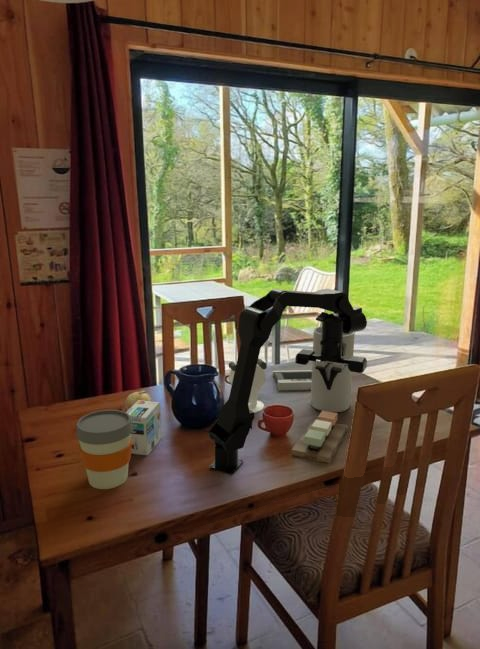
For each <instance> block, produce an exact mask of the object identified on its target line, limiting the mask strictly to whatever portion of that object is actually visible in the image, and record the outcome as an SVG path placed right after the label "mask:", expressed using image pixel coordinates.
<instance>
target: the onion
mask: <svg viewBox="0 0 480 649" xmlns="http://www.w3.org/2000/svg"><path fill="white" fill-rule="evenodd" d="M138 400H142V401H151V402H153V399H152V398H151V396H150V395H149V394H148V393H147V391H146V390H144V388H141V390H140V391H134V392H132V393H131V394H129V395H128V396H127V397H126V399H125V402H124V403H125V407H126V409H127V411H128V410H129V409H130V408H131V407H132V406H133V405H134V404H135V403H136V402H137V401H138Z"/></svg>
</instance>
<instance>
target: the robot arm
mask: <svg viewBox="0 0 480 649" xmlns="http://www.w3.org/2000/svg"><path fill="white" fill-rule="evenodd" d="M288 307H295V308H296V307H297V308H316V309H317V308H318V309H322V310H325V311H328V312H330V313H328V312H325V311H321V313H320V314H319V315H317V316H316V318H315V320H316V321H317V322H321V326H322V334H321V341H320V345H321V355H315V352H314V350H313V349H305V348H303V349H301V350H299V352H297V353H296V355H295V364H297V365H308V364H309V363H310V361H311V362H312V361H315V362H316V367H315V369H318V370H319V372H320V374H321V376H322V377H323V380H324V382H325V385H326V387H327V390H331V388H332V386H333V383H334V381H335V378H336V376H337V374H338V373H341V372H342V371H343V370H344V368H345V366H348V369H349V370H350V371H351V372H352V373H359V374H362V373H364V372H365V370H366V368H367V367H368V360H367V358H366V357H364V356H357V355H353V356H352V357H351V359H344V358H342V357H343V356H344V355H345V352H346V344H345V343H343V333H352V332H355V333H356V332H357V333H358V332H361V331H364V330H366V327H367V325H368V320H367V318H366V315H365V313H364V312H363V308H362V307H360V306H352V304H351V301H350V299H349V297H348V294H347V293H346V292H344V291H340V290H336V289H335V290H334V289H331V288H324V289H318V290H317V291H303V290H302V291H300V290H289V289H288V290H286V289H279V288H272V289H271V290H269V291H268V293H266V294H265V295H263V296H262V297H260V298H259V299H257V300H255V301H253V302H252V303H251V304H250V305H249V306H248V307H246V308H244V309H243V310H241V312H240V313H239V317H238V330H237V332H238V334H239V340H240V346H239V350H238V355H237V359H236V363H237V364H236V363H235V364H236V368H235V373H234V378H233V382H232V385H231V387H230V393H229V396H228V400H227V401H225V403H224V404H223V405H222V407H221V408H220V411H219V414H218V416H217V419H216V421H215V422H214V423H213V425H212V426H211V427H210V429H208V431H207V434H208V436H209V439H210V440H212V441H213V442H214V461H213V462H212V463H211V464H210V465H209V469H211V470H214V471H217V472H221V473H226V474H229V475H233V474H234V473H235V472H236V471H237V470H239V467H241V465H243V463H244V460H243V459H240V458H239V450H240V449H243V448H244V446H245V443H246V441H247V437H248V435H249V433H250V430H253V422H254V418H255V414H256V413H254V412H253V411H251V410H249V406H248V402H249V398H250V393H251V389H252V384H253V380H254V375H255V371H256V366H257V362H258V359H259V357H260V352H261V349H262V347H263V346H264V345H265V343H266V342H267V341H268V340H269V339H270V335H271V333H272V330H273V328H274V326H275V325H276V324H277V323H278V322H279V321H280V320H281V318H282V315H283V313H284V311H285V309H286V308H288ZM267 310H269V311H268V312H267ZM330 364H333V367H332V369H331V370H330Z"/></svg>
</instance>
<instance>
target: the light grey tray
mask: <svg viewBox="0 0 480 649" xmlns="http://www.w3.org/2000/svg"><path fill="white" fill-rule="evenodd" d="M272 377H273V378H274V379H275V380H276V384H277V385H276V386H277V390H278V391H303V390H305V391H308V390H309V389H310V390H309V391H311V383H312V369H308V370H307V369H305V370H304V369H303V370H296V369H295V370H272Z"/></svg>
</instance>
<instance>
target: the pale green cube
mask: <svg viewBox="0 0 480 649" xmlns="http://www.w3.org/2000/svg"><path fill="white" fill-rule="evenodd" d="M324 441H326V440H325V432H321V431H316V430H311V429H309V430H308V432H307V433H306V434H305V436H304V443H305V444H309V445H310V447H311V448H313V449H312V450H315V449H317V448H319V447H321V445H322V444H323V442H324Z"/></svg>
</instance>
